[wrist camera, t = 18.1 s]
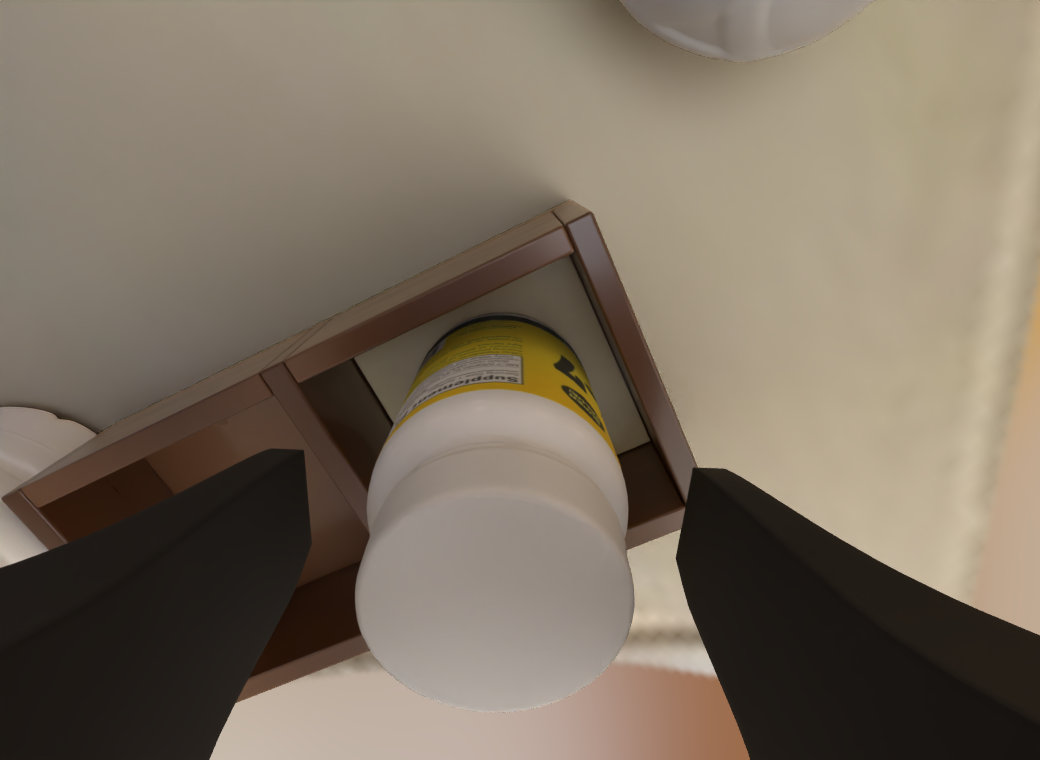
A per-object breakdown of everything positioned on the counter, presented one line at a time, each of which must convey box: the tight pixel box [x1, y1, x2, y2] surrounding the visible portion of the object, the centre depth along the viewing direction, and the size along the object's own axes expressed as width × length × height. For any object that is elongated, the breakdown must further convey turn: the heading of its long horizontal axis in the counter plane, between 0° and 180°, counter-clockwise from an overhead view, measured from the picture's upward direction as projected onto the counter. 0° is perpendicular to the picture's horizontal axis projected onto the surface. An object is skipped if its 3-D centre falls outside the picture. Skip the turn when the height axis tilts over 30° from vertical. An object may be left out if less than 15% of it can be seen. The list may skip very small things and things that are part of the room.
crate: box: [1, 200, 698, 703], centre depth 15 cm, size 15×8×4 cm, turn 115°
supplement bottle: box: [355, 313, 634, 713], centre depth 12 cm, size 5×5×8 cm
